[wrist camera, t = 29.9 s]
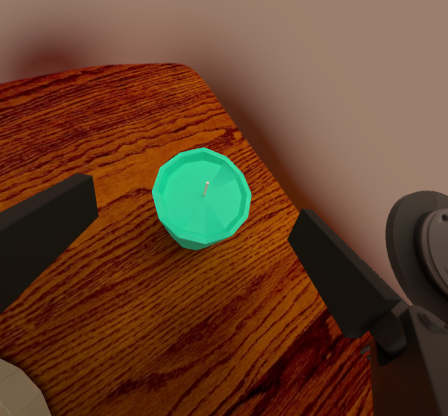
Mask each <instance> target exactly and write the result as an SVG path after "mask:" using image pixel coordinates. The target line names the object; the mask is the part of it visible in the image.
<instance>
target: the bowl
mask: <svg viewBox="0 0 448 416" xmlns="http://www.w3.org/2000/svg"><path fill="white" fill-rule="evenodd" d="M0 416H51V413H50V411H49V408H48V406H47V403H46V401H45V399H44V396H43V394H42V392H41V390H40V389H39V388H38V387H37V386H36V385H35V384H34V383H33V382H32V381H31V379H30V378H29V377H28V376H27V375H26V374H25V373H24V372H23V371H22V370H21V369H20V368H18V367H16V366H14V365H12V364H10V363H8V362H6V361H4V360H2V359H0Z"/></svg>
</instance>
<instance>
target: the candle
mask: <svg viewBox="0 0 448 416" xmlns="http://www.w3.org/2000/svg"><path fill="white" fill-rule="evenodd" d="M152 195H153V198H154V202H155V206H156V210H157V213H158V217H159V220H160V221H161V223H162V224H163V225H164V227H165V228H166V229H167V231H168V232H169V234H170V235H171V236H172V238H173V239H174V240H175V241H177V242H178V243H179V244H180V245H181V246H182V247H184V248H188V249H193V250H199V249H202V248H205V247H208V246H211V245H213V244H215V243H217V242H220V241H222V240H224V239H226V238H228V237H230V236H232V235H233V234H234V233H235V232H236V230H237V229H238V228H239V227H240V226H241V225H242V223H243V222H244V221H245V220H246V219H247V218H248V213H249V207H250V201H251V192H250V190H249V187H248V185H247V182H246V180H245V177H244V175H243V173H242V172H241V171H240V170H239V169H238V168H237V167H236V166H235V165H234V164H233V163H232V162H231V161H230V160H229V159H228V158H227V157H226V156H224V155H221V154H219V153H216V152H214V151H211V150H209V149H207V148H199V149H195V150H190V151H186V152H181V153H179V154H178V155H176V156H175V157H174V158H172V159H171V160H170V161H168V162H167V163H166V164H164V165H163V166H162V167H160V170H159V173H158V175H157V178H156V181H155V184H154V187H153V190H152Z"/></svg>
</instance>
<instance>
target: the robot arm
mask: <svg viewBox="0 0 448 416" xmlns="http://www.w3.org/2000/svg"><path fill="white" fill-rule="evenodd" d="M98 217H99V216H98V209H97V203H96V196H95V190H94V183H93V177H92V176H91V175H85V174H78V173H77V174H75V175H73V176H71V177H69V178H67V179H65V180H63V181H61V182H59V183H57V184H55V185H53V186H52V187H50V188H48V189H46V190H44V191H42V192H40V193H38V194H36V195H34V196H32V197H30V198H28V199H26V200H24V201H22V202H20V203H18V204H16V205H14V206H12V207H10V208H8V209H6V210H4V211H2V212H0V314H1V313H2V312H3V311H4V310H5V309H6V308H7V307H8V306H9V305H10V304H11V303H12V302H13V301H14V300H15V299H16V298H17V297H18V296H19V295H20V294H21V293H22V292H23V291H24V290H25V289H26V288H27V287H28V286H29V285H30V284H31V283H32V282H33V281H34V280H35V279H36V278H37V277H38V276H39V275H40V274H41V273H42V272H43V271H44V270H45V269H46V268H47V267H48V266H49V265H50V264H51V263H52V262H53V261H54V260H55V259H56V258H57V257H58V256H59V255H60V254H61V253H62V252H63V251H64V250H65V249H66V248H67V247H68V246H69V245H70V244H72V243H73V242H74V241H75V240H76V239H77V238H78V237H79V236H80V235H81V234H82V233H83V232H84V231H85V230H86V229H87V228H88V227H89V226H90V225H91V224H92V223H93V222H94V221H95V220H96V219H97V218H98ZM287 240H288V242H289V243H290V245H291V247H292V248H293V250H294V252H295V254H296V255H297V257H298V259H299V260H300V262H301V264H302V265H303V267H304V269H305V270H306V272H307V274H308V276H309V277H310V279H311V281H312V282H313V284H314V286H315V287H316V289H317V291H318V292H319V294H320V296H321V298H322V299H323V301H324V303H325V304H326V306H327V308H328V309H329V311H330V313H331V315H332V316H333V318H334V320H335V321H336V323H337V325H338V326H339V328H340V330H341V331H342V333H343V335H344V337H345V338H361V337H362V336H363V335H364V334H365V333H366V332H368V331H370V333H371V334H372V336H373V338H372V339H371V340H370V341H369V342H368V343H366V344H365V345H364V346H363V347H362V348H361V349H360V352H359V353H361V354H363V353H365V352H366V351H367V350H368V351H370V354H369V355H368V356H367V357H366V358H368V359H369V360H370V364H371V380H372V397H373V414H374V416H448V325H446V324H445V323H444V322H443V321H442V320H441V319H440V318H438V317H437V316H436V315H434V314H433V313H431V312H429V311H428V310H426V309H424V308H421V307H419V306H415V305H412V306H409V305H408V304H407V303H406V302H405V301H404V300H403V299H402V298H401V297H400V296H399V295H398V294H397V293H396V292H395V291H394V290H393V289H392V288H391V287H390V286H389V285H388V284H387V283H386V282H385V281H384V280H383V279H382V278H380V277H379V275H378V274H377V273H376V272H375V271H373V270H372V268H371V267H370V266H369V265H368V264H367V263H366V262H365V261H364V260H362V259H361V258H360V257H358V255H356V253H355V252H354V251H353V250H351V248H350V247H349V246H347V244H346V243H345V242H344V241H343V240H341V238H339V236H337V234H336V233H335V232H334V231H333V230H331V228H330V227H329V226H328V225H327V224H326V223H325V222H324V221H323V220H322V219H321V218H319V216H318V215H317V214H316V213H315V212H314V211H313V210H309V209H302V210H301V212H300V214H299V216H298V218H297V220H296V222H295V224H294V226H293V228H292V231H291V233H290V235H289V237H288V239H287ZM414 249H415V253H416V257H417V260H418V263H419V265H420V267H421V270H422V271H423V273H424V275H425V277H426V278H427V280H428V281H429V283H430V284H431V285H432V286H433V288H434V289H435V290H436V291H437V292H438V293H439V294H440V295H442V296H443V297H444V298H445V299H447V300H448V208H447V209H440V210H435V211H430V212H427V213H425V214H424V215H422V216H421V217H420V218H419V220H418V221H417V224H416V226H415V230H414Z"/></svg>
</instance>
